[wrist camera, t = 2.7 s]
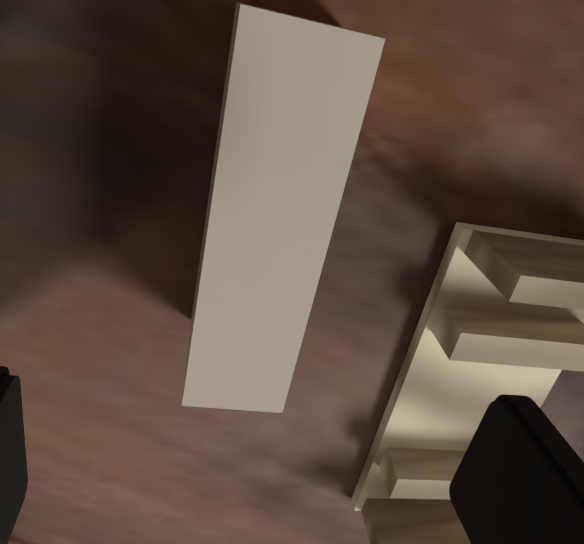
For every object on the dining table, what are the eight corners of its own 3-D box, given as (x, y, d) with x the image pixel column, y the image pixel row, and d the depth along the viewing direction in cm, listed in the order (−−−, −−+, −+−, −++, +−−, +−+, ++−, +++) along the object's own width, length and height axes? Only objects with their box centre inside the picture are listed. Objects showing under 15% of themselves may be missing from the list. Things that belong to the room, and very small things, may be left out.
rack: (456, 221, 23) (509, 274, 19) (617, 245, 25) (700, 297, 20) (351, 499, 32) (370, 577, 28) (474, 502, 34) (511, 575, 30)
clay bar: (236, 1, 18) (240, 3, 13) (340, 26, 19) (385, 39, 13) (191, 317, 24) (181, 405, 19) (270, 326, 25) (282, 412, 20)
